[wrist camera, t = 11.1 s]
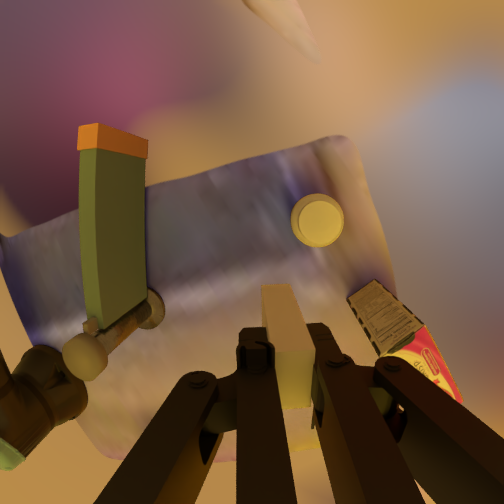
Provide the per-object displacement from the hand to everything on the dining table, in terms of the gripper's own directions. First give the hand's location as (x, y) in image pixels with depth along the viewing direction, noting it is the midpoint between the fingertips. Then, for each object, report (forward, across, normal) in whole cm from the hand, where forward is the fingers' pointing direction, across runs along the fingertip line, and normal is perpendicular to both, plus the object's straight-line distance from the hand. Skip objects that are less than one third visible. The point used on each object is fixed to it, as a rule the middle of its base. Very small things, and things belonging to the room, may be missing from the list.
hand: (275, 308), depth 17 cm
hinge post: (+24, -16, -10) cm, 30 cm away
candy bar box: (+20, +16, -12) cm, 28 cm away
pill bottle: (+22, +7, +1) cm, 23 cm away
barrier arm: (+23, -15, 0) cm, 28 cm away
